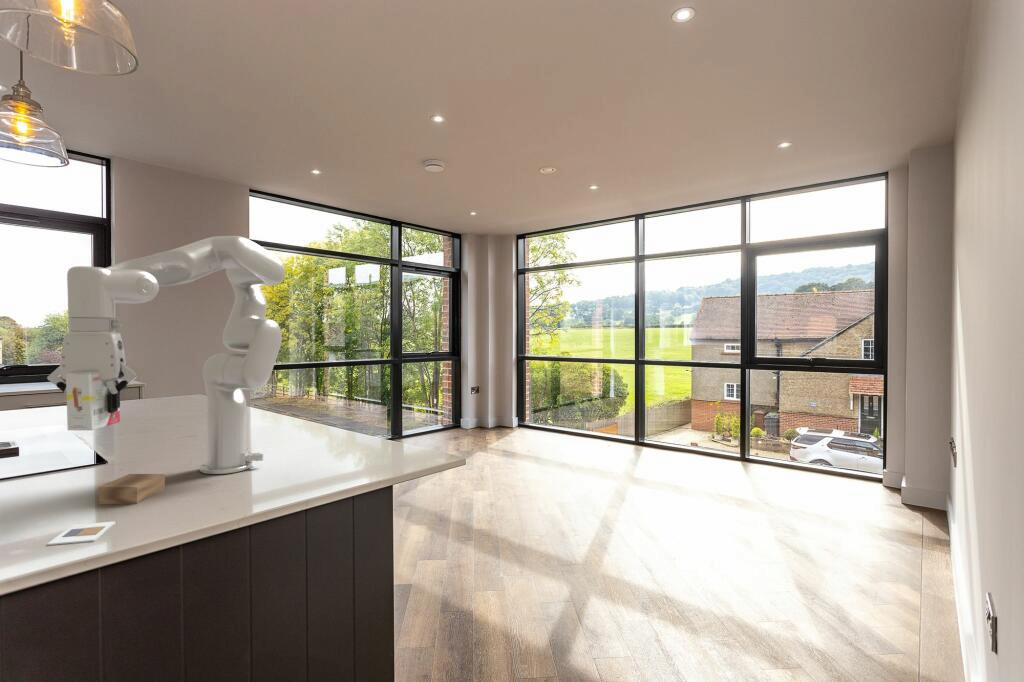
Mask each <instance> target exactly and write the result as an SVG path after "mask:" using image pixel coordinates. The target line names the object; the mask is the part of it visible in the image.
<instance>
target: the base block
mask: <svg viewBox="0 0 1024 682" xmlns="http://www.w3.org/2000/svg"><path fill="white" fill-rule="evenodd" d="M165 483H166V474H165V473H129V474H126V475H124V476H121V477H118V478H117V479H114V480H112V481H110V482H109V481H108V482H107V483H105V484H103V485H100V486H98V504H99V505H100V504H101V505H102V504H103V505H104V504H105V505H106V504H107V505H110V504H113V505H116V504H117V505H121V504H123V505H126V504H128V505H129V504H131V505H132V504H134V505H135V504H136V505H137V504H139V503H141V502H143V501H145V500H147V499H149V498H151V497H152V496H155V495H156V494H157V495H158V493H160V492H162V491H164V490H165V489H166V486H165V485H166V484H165Z"/></svg>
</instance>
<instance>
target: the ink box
mask: <svg viewBox="0 0 1024 682" xmlns="http://www.w3.org/2000/svg"><path fill="white" fill-rule="evenodd" d="M98 372H99V371H97V372H78V373H66V380H65V381H66V392H67V395H66V416H67V417H66V418H67V419H66V420H67V421H66V423H67V424H66V425H67V431H95V430H98V429H101V428H105V427H107V426H111V425H114V424H117V423H120V422H121V418H120V417H121V416H120V415H121V414H120V413H121V411H120V407H119V408H118V411H116V412H113V413H108V403H107V395H108V394H110V390H109V388H108V386H107V384H106V382H105V381H102V380H100V376H99V373H98ZM117 379H118V380H119V378H117Z"/></svg>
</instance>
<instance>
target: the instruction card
mask: <svg viewBox="0 0 1024 682" xmlns="http://www.w3.org/2000/svg"><path fill="white" fill-rule="evenodd" d="M116 523H117V521H116V520H115V521H105V522H104V521H103V522H93V523H79V524H72V525H71V526H69V527H68V528H67V529H66V530H64V531H62V532H61V533H60V534H57V536H55V537H54V538H53V539H51V540H50V541H49V542H47V544H46V546H57V545H66V544H77V543H78V544H79V543H90V542H95V541H96V540H98V539H99V538H100V537H102V535H104V534H105V533H106V532H107V531H109V529H110V528H111V527H113V526H114V525H115V524H116Z"/></svg>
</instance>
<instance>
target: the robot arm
mask: <svg viewBox="0 0 1024 682" xmlns="http://www.w3.org/2000/svg"><path fill="white" fill-rule="evenodd" d="M224 269H225V274H226V277H227V279H228V281H229V283H230V285H231V287H232V289H233V293H234V304H233V306H232V310H231V312H230V314H229V316H228V319H227V322H226V325H225V326H224V330H223V332H222V333H223V334H222V337H221V338H222V344H223V345H224V347H225V348H227V349H228V350H231V351H237V352H245V353H246V354H243V353H230V352H229V353H225V352H223V353H222V352H221V353H217V354H213V355H212V356H210V357H209V358H207V360H205V362H204V365H203V367H202V378H203V382H204V388H205V395H206V459H205V460H206V461H205V462H204V463H202V464H201V465H200V466H199V472H201V473H203V474H208V475H223V474H233V473H238V472H242V471H246V470H248V469H251V467H252V466H253V462H258V461H259V462H262V461H264V453H260V452H254V453H253V452H249V451H250V449H249V448H247V407H248V406H247V400H246V396H245V394H244V392H243V390H246V391H247V390H248V391H249V390H252V391H254V390H259V389H261V388H263V387H264V386H265V385H267V383H268V382H269V380H270V378H271V375H272V372H273V370H274V367H275V363H276V361H277V358H278V355H279V352H280V349H281V345H282V341H283V335H282V333H283V332H282V329H281V327H280V325H279V324H278V323H277V321H275V320H273V319H269V318H265V316H266V313H267V309H268V302H267V298H266V296H265V294H264V292H263V291H262V289H261V287H262V286H263V287H265V286H266V287H269V286H270V287H272V286H276V285H279V284H281V282H283V280H284V278H285V277H286V269H285V264H284V263H283V261H282V259H280V258H279V257H278V256H277V255H275V254H274V253H273V252H270V251H269V250H268V249H266V248H265V247H263V246H261V245H260V244H258V243H256V242H255V241H252V240H251V239H248V238H246V237H244V236H242V235H241V236H240V235H219V236H218V235H217V236H211V237H207V238H202V239H200V240H197V241H194V242H191V243H189V244H186V245H183V246H179V247H176V248H174V249H170V250H169V249H168V250H166V251H162V252H157V253H153V254H151V255H145V256H142V257H138V258H133V259H130V260H125V261H122V262H120V263H116V264H113V265H110V266H107V267H100V266H87V265H86V266H81V265H79V266H72V267H70V268H69V269H68V271H67V273H66V284H67V288H66V289H67V316H68V318H67V319H68V323H67V324H68V333H67V332H66V333H64V337H63V339H62V345H61V352H60V362H59V366H58V367H57V368H56V369H55V370H54V371H52V372H51V373H50V374H49V375H47V377H46V378H47V380H48V381H49V382H50V383H52V384H53V385H55V386H56V387H57V388H58V389H59V390H60V391H62V392H63V393H64V395H65V396H67V392H66V373H78V372H97V371H99V372H98V373H99V376H100V380H102V381H105V382H106V384H107V386H108V388H109V390H110V394H108V395H107V403H108V413H113V412H116V411H118V408H119V409H120V407H121V392H122V391H123V390H124V389H125V388H127V387H128V386H129V384H130V383H132V382H133V381H135V379H137V378H138V374H137V372H135V371H134V370H133V369H132V368H130V367H129V365H127V363H126V362H127V361H126V354H125V349H124V343H123V342H124V341H123V339H122V335H121V332H116V331H117V329H120V328H123V326H124V322H123V320H122V321H118V320H117V318H115V317H116V312H115V311H116V309H115V304H143V303H147V302H149V301H152V300H154V299H155V297H156V296H157V295H158V293H159V290H160V287H169V286H178V285H184V284H187V283H189V284H190V283H192V282H193V281H196V280H198V279H199V280H200V279H202V278H204V277H206V276H209V275H210V274H213V273H215V272H218V271H221V270H224ZM260 286H261V287H260ZM124 377H125V378H124ZM117 378H118V379H117ZM121 378H124V379H122V380H121V381H120V380H119V379H121Z"/></svg>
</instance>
